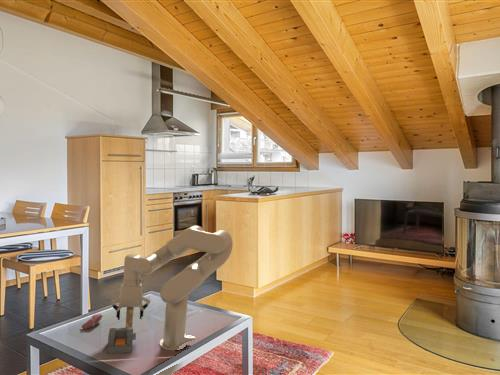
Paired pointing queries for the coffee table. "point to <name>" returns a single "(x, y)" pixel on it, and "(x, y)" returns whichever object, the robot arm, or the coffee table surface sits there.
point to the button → (120, 342)
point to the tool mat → (134, 336)
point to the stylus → (129, 317)
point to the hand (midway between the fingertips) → (129, 318)
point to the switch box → (119, 334)
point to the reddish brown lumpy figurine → (92, 321)
